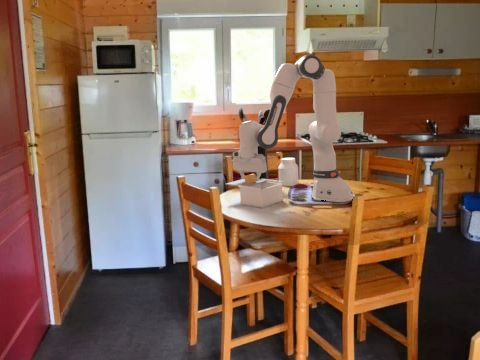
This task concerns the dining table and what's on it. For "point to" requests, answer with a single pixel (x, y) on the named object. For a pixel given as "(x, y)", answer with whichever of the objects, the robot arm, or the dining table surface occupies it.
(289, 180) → the jar
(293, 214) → the dining table surface
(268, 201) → the carton
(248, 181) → the lid
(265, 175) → the black tall block
